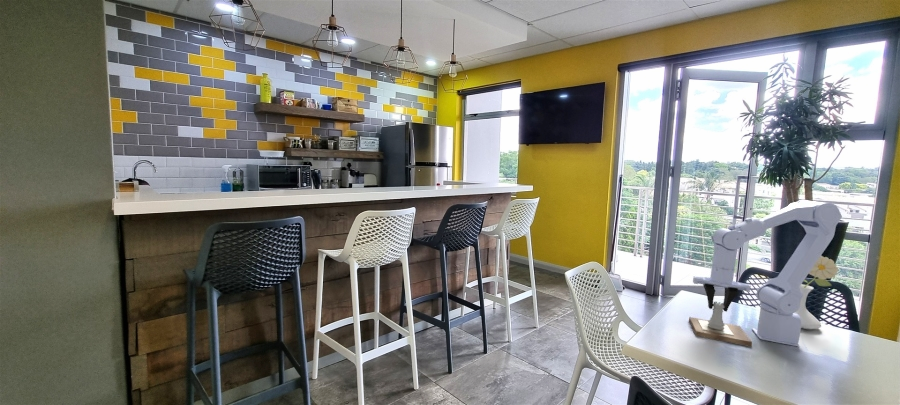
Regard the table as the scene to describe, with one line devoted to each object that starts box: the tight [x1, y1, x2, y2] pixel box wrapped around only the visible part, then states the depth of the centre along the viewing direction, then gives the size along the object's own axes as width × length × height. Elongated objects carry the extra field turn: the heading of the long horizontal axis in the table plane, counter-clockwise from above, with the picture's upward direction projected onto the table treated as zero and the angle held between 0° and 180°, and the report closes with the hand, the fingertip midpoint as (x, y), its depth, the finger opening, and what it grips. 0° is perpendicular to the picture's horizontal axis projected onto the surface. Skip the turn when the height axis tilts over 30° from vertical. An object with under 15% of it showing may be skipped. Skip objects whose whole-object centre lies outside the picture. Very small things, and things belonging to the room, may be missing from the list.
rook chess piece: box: [707, 301, 725, 330], centre depth 117 cm, size 4×4×8 cm
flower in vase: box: [795, 255, 839, 330], centre depth 125 cm, size 13×11×25 cm
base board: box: [688, 316, 753, 348], centre depth 118 cm, size 14×12×2 cm
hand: (717, 309), depth 118 cm, fingers closed on rook chess piece, 3 cm apart
